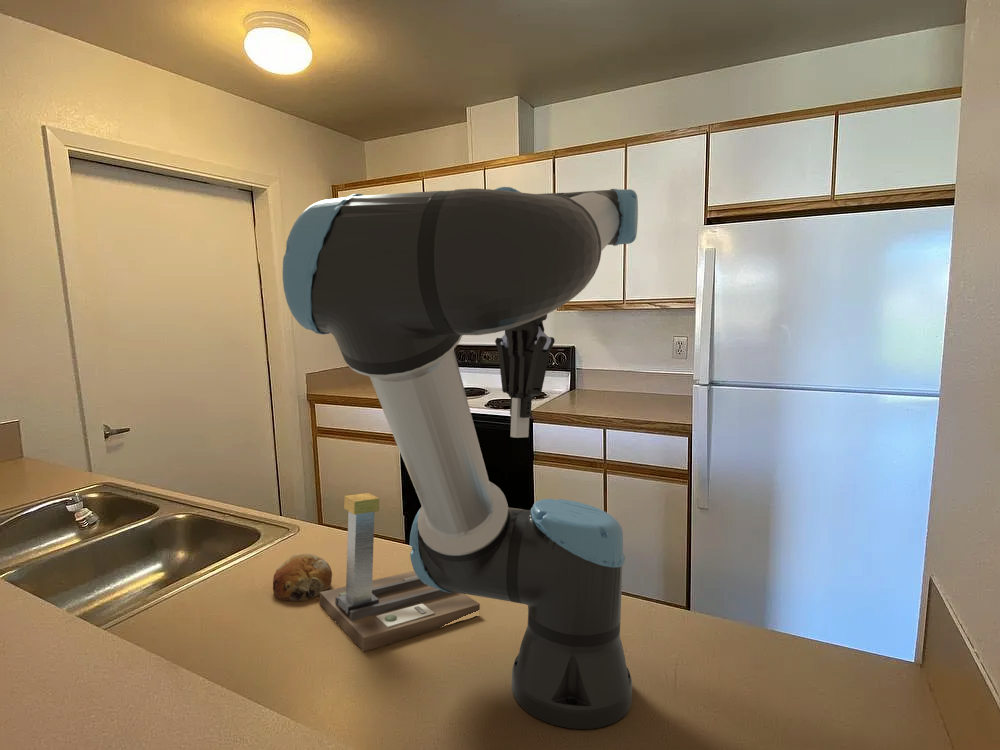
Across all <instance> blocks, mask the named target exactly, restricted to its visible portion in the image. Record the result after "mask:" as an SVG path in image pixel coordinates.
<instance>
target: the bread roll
mask: <svg viewBox="0 0 1000 750" xmlns="http://www.w3.org/2000/svg"><path fill="white" fill-rule="evenodd" d="M332 577H333V572H332V567H331V566H330V565H329V563H328V562H327V561H326V560H325V559H324V558H322V557H320V556H318V555H315V554H312V553H300V554H293V555H291V556H290V557H289V558H288V559H286V560H285V561H284V562H283V563H282V564H281V565H280V566H278V567H277V568H276V570H275V572H274V574H273V579H272V591H273V594H274V596H275V597H276V598H278V599H279V600H283V601H292V602H293V601H294V602H295V601H297V602H298V601H301V602H302V601H306V600H311V599H313V598H317V597H320V592H323V591H327V590H330V588H331V585H332V580H333V579H332Z"/></svg>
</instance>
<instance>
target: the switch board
mask: <svg viewBox="0 0 1000 750" xmlns="http://www.w3.org/2000/svg"><path fill="white" fill-rule="evenodd" d="M372 594H373V595H374V596H376V597H377V598H378V599H379V603H378V604H374V605H370V606H366V607H363V608H359V609H355V610H351V611H350V614H349V615H348V614H347V613H346V612H345V611H344V610H343V609H342V608H341V607H340V606H339V605H338V597H342V596H346V585H345V586H342V587H338V588H332V589H328V590H327V591H323V592H320V595H319V605H320V606H321V607H322V609H323V610H324V611H325V612H326V613H327V614H328V615H329V616H330V618H332V619H333V621H335V622H336V624H337V625H338V626H339V627H340V628H341V629H342V631H343V632H345V634H347V636H348V637H349V638H350V639H351V640H352V641H353V642H354V644H356V645H357V646H358V648H359V649H360V650H361V651H362V652H363V653H364V652H367V651H370V650H374V649H377V648H380V647H384V646H387V645H389V644H390V645H391V644H393V643H397V642H400V641H404V640H406V639H410V638H413V637H416V636H419V635H422V634H423V635H424V634H426V633H430V632H433V631H435V630H438V629H437V628H439V629H441V628H440V627H442V626H444V625H445V624H448V623H450V622H452V621H454V620H457V619H459V618H461V617H463V616H466V615H468V614H471V613H473V612H476V611H478V610H480V609H481V608H480V606H481V604H480V603H479V602H477V600H475V599H473V598H472V597H470V596H469V595H468V594H462V593H455V592H451V593H450V592H444V591H441V590H439V589H438V588H434V587H430V586H428V585H426V584H424V583H423V582H422V581H421V580H420V579H419V578H418V577H417V575H416V573H415V571H414V570H412V571H408V572H404V573H399V574H395V575H389V576H385V577H382V578H377V579H372ZM442 628H443V627H442Z"/></svg>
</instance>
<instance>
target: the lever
mask: <svg viewBox="0 0 1000 750" xmlns="http://www.w3.org/2000/svg"><path fill="white" fill-rule="evenodd" d="M343 504H344V505H343V506H344V507H343V509H344V510H346V511H347V512H348V515H347V517H348V519H347V548H346V549H347V551H346V554H347V555H346V574H345V575H346V578H345V579H346V580H345V586H346V596H342V597H338V605H339V606H340V607H341V608H342V609H343V610H344V611H345V612H346V613H347V614H348V615H349V614H350V611H351V610H355V609H359V608H363V607H366V606H370V605H374V604H378V603H379V599H378V598H377V597H376V596H374V595H373V594H372V580H373V568H374V567H373V565H374V540H375V539H374V538H375V537H374V535H375V512H379V511H380V497H378V496H376V495H373V494H371V493H370V492H365V493H356V494H351V495H350V494H349V495H344V501H343Z"/></svg>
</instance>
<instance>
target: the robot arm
mask: <svg viewBox="0 0 1000 750" xmlns="http://www.w3.org/2000/svg"><path fill="white" fill-rule="evenodd" d="M638 205H639V202H638V195H637V192H636V191H635V190H633V189H630V188H629V189H626V188H625V189H621V188H618V189H617V188H610V189H604V190H603V189H601V190H600V189H599V190H585V191H584V190H583V191H574V192H573V191H571V192H553V193H552V192H550V193H549V192H548V193H527V192H521V191H520V190H517V189H516V188H513V187H511V186H500V187H497V188H495V189H491V188H490V189H489V188H460V189H454V190H431V191H414V192H413V191H412V192H402V193H401V192H400V193H399V192H398V193H383V194H382V193H381V194H368V195H367V194H365V195H364V194H363V193H353V194H349V195H348V196H344V197H337V198H329V199H323V200H319V201H317V202H315V203H312V204H311V205H309V206H308V207H307V208H305V209H304V210H303V211H302V213H300V215H299V217H297V219H296V220H295V222H294V223H293V226H292V227H291V229H290V231H289V235H288V237H287V240H286V246H285V252H284V253H285V254H284V256H283V258H282V284H283V285H282V286H283V287H282V288H283V292H284V296H285V300H286V303H287V306H288V308H289V310H290V313H291V315H292V316H293V318H294V319H295V321H297V323H299V325H300V326H302V327H303V329H306V330H309V331H312V332H314V333H315V334H317V335H329V334H331V335H332V336H333V338H335V342H336V343H337V345H338V348H339V350H340V352H341V355H342V358H343V359H344V361H345V364H346V365H347V366H348V367H349V369H351V371H353V372H355V373H357V374H359V375H362V376H366V377H369V379H370V382H371V383H372V386H373V389H374V391H375V393H376V396H377V399H378V401H379V404H380V406H381V408H382V412H383V413H384V416H385V419H386V421H387V423H388V427H389V429H390V430H391V433H392V436H393V439H394V441H395V443H396V446H397V449H398V451H399V453H400V456H401V458H402V460H403V463H404V465H405V468H406V470H407V472H408V475H409V477H410V480H411V483H412V485H413V487H414V489H415V490H414V491H415V493H416V494H417V497H418V500H419V503H420V505H421V507H420V508H419V509H418V511H417V513H416V514H415V516H414V519H413V522H412V525H411V530H410V534H409V546H410V547H411V551H410V553H409V554H410V555H409V556H410V557H409V558H410V561H411V566H412V569H413V571H415V573H416V575H417V577H418V578H419V579H420V580H421V581H422V582H423V583H424V584H426V585H428V586H430V587H434V588H438V589H439V590H441V591H444V592H450V593H451V592H455V593H462V594H465V595H467V596H475V597H480V598H481V597H482V598H487V599H493V600H494V599H495V600H500V601H504V602H505V601H506V602H512V603H515V604H523V605H526V606H527V610H528V611H527V626H526V629H525V632H524V634H523V638H522V641H521V644H520V647H519V651H518V654H517V656H516V657H515V659H514V661H513V664H512V668H511V669H512V671H511V692H512V695H513V697H514V699H515V702H517V703H518V704H519V706H520V707H521V708H522V709H523V710H524V711H526V712H527V713H529V714H530V715H531V716H533V717H535V718H537V719H538V720H541V721H542V722H544V723H548V724H551V725H554V726H557V727H562V728H566V729H567V728H568V729H573V730H574V729H576V730H590V729H597V728H598V729H599V728H603V727H606V726H607V727H608V726H609V725H613V724H614V723H617V722H618V721H620V720H621V719H623V717H625V716H626V715H627V713H628V712H629V710H630V709H631V706H632V703H633V702H632V701H633V700H632V699H633V680H632V676H631V672H630V670H629V668H628V667H627V661H626V657H625V653H624V652H625V651H624V648H623V644H622V640H621V639H622V638H621V619H622V618H621V617H622V615H621V614H622V589H623V587H622V586H623V585H622V584H623V566H624V565H625V560H626V557H625V553H624V531H623V528H622V526H621V524H620V522H619V521H618V520H617V519H616V518H615V517H614V516H612V515H611V514H610V513H608V512H607V511H605V510H602V509H601V508H599V507H596V506H594V505H591V504H587V503H583V502H579V501H574V500H570V499H563V498H562V499H560V498H559V499H558V498H557V499H553V498H543V499H539V500H537V501H535V502H534V503H533V505H532V507H531V508H530V509H523V508H517V507H515V508H514V507H509V505H508V501H507V498H506V495H505V494H504V492H503V491H502V490H501V488H500V487H499V486H498V485H496V484H495V483H493V482H492V481H490V480H489V475H488V471H487V469H486V464H485V461H484V458H483V453H482V450H481V447H480V446H481V445H480V442H479V438H478V435H477V431H476V428H475V424H474V420H473V416H472V412H471V409H470V405H469V402H468V397H467V395H466V394H467V393H466V390H465V387H464V383H463V379H462V375H461V372H460V368H459V364H458V361H457V355H456V353H455V348H456V347H457V346H458V344H459V342H460V341H461V339H462V338H463V337H462V336H483V335H489V334H496V333H499V332H504V334H503V336H502V337H496V338H495V340H494V343H495V346H496V348H497V351H498V353H497V354H498V361H499V371H500V380H501V390H502V392H503V393H504V394H505V393H506V394H507V395H508V397H509V398H510V404H509V407H510V408H509V415H510V435H509V436H510V438H517V439H519V438H529V431H530V418H531V416H532V401H533V399H534V397H535V396H541V394H542V392H543V386H544V381H545V377H546V374H547V373H546V372H547V367H548V363H549V358H550V352H551V350H552V348H553V346H554V344H555V342H556V340H555V338H554V337H553V336H548V335H547V334H546V333H545V327H544V323H543V322H544V321H546V320H547V318H548V314H550V313H552V312H554V311H555V310H557V309H559V308H561V307H562V306H564V305H566V304H567V303H569V302H570V301H571V300H572V299H574V298H575V297H577V295H578V294H580V293H581V292H582V291H583V290H584V289H585V288H586V287H587V286H588V285H589V283H590V282H591V280H592V279H593V277H594V276H595V274H596V272H597V269H598V267H599V265H600V261H601V255H602V252H603V250H604V249H605V248H606V247H607V246H613V247H616V246H619V245H628V244H629V245H630V244H632V243H633V242H635V240H636V239H637V234H638V220H639V219H638V218H639V217H638V216H639V206H638Z"/></svg>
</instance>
